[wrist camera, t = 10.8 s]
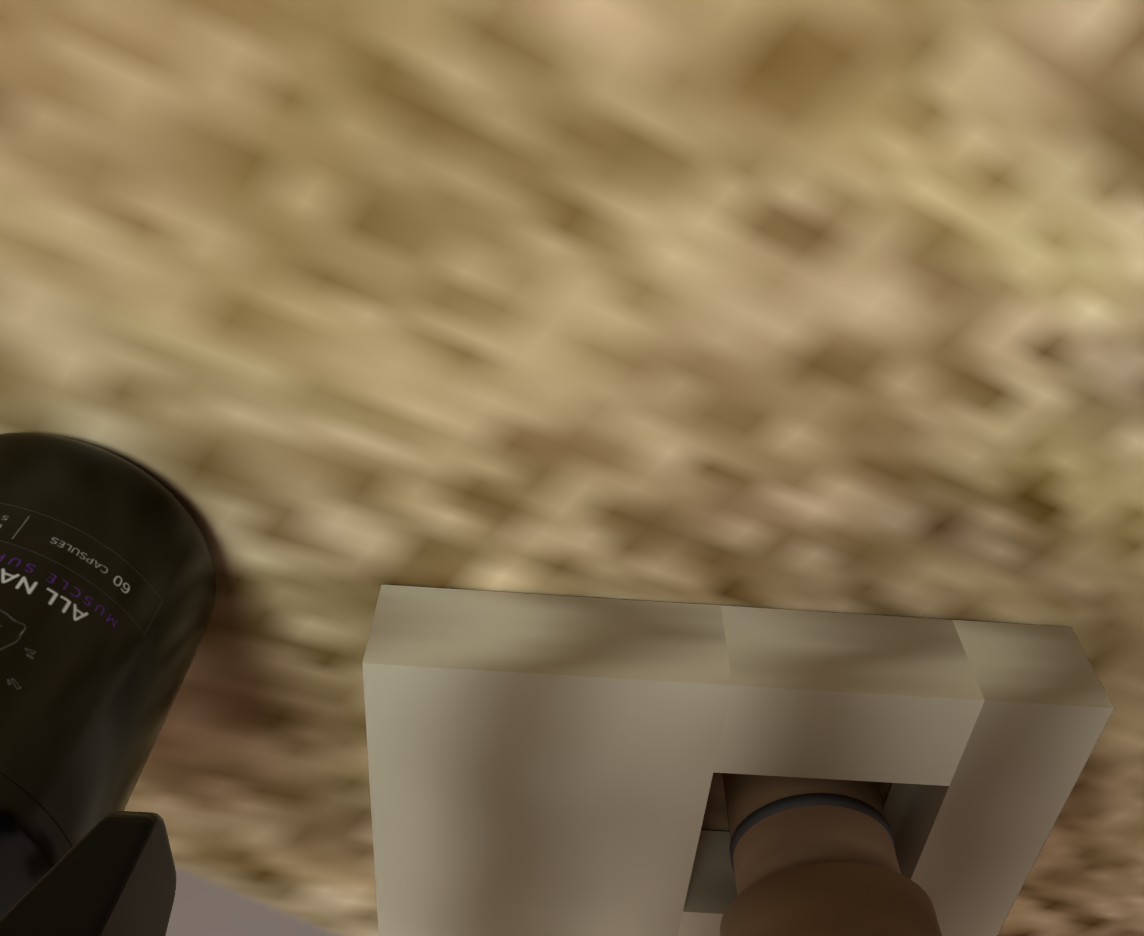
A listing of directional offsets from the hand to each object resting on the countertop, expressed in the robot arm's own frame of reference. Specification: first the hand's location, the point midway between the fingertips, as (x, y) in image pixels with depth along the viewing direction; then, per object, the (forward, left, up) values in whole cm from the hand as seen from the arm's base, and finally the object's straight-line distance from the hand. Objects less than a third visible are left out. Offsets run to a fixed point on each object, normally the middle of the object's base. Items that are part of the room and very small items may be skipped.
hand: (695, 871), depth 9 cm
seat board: (-3, +14, -13) cm, 19 cm away
